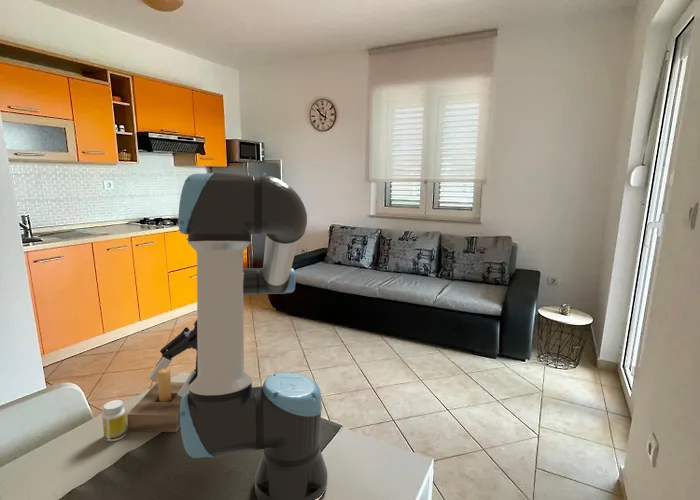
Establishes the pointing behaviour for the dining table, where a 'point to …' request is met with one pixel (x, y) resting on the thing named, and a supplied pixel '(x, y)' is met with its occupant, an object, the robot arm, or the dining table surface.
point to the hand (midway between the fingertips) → (166, 388)
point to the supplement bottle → (114, 421)
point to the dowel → (164, 385)
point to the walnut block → (156, 411)
